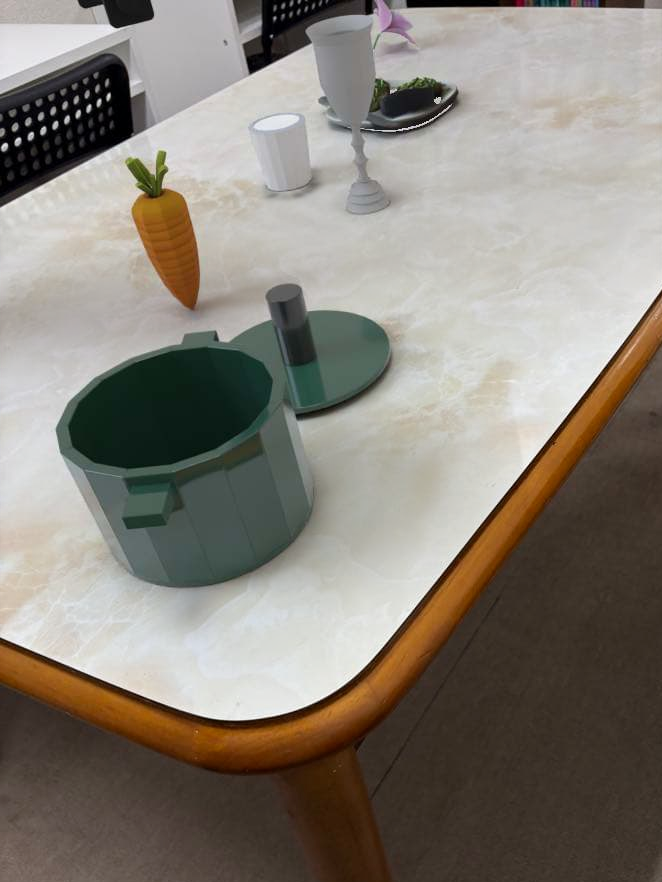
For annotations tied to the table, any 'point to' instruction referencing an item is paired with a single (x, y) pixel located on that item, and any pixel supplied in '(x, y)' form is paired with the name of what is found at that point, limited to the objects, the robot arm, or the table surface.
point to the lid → (318, 349)
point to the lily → (391, 21)
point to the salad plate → (402, 104)
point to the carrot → (166, 231)
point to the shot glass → (282, 150)
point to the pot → (190, 461)
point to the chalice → (350, 92)
